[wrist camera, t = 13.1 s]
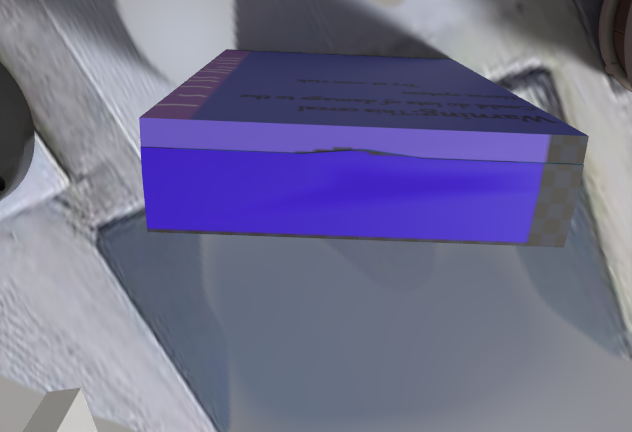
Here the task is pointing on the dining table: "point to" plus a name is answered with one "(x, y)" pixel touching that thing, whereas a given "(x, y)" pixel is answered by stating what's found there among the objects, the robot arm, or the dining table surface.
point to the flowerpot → (617, 39)
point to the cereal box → (357, 153)
